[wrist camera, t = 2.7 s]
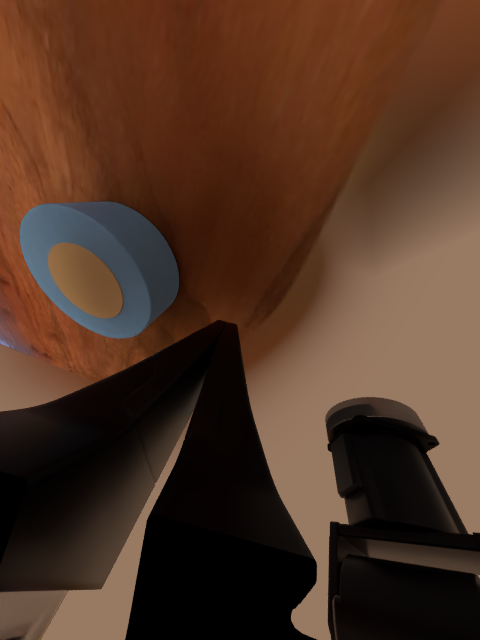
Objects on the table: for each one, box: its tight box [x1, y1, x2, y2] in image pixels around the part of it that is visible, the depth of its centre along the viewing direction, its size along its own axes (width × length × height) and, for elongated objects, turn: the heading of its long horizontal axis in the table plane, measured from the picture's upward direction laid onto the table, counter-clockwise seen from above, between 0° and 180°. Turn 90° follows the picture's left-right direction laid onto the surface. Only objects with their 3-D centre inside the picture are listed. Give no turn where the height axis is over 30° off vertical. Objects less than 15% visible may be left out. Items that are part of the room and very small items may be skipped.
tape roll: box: [20, 201, 179, 338], centre depth 11 cm, size 7×7×3 cm
